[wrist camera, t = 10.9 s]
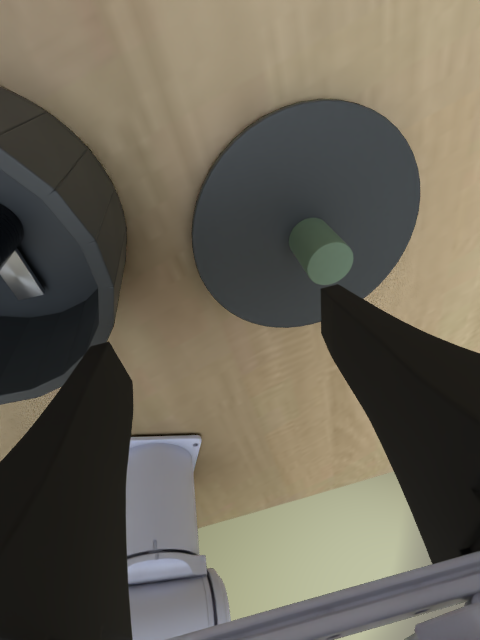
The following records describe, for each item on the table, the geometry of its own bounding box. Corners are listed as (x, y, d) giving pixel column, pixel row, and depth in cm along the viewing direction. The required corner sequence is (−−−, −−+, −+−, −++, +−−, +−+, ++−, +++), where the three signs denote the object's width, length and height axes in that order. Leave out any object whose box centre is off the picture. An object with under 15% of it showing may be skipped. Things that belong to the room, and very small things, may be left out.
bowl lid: (353, 323, 26) (381, 363, 22) (178, 311, 22) (181, 357, 19) (454, 130, 18) (520, 147, 15) (212, 63, 14) (227, 65, 11)
